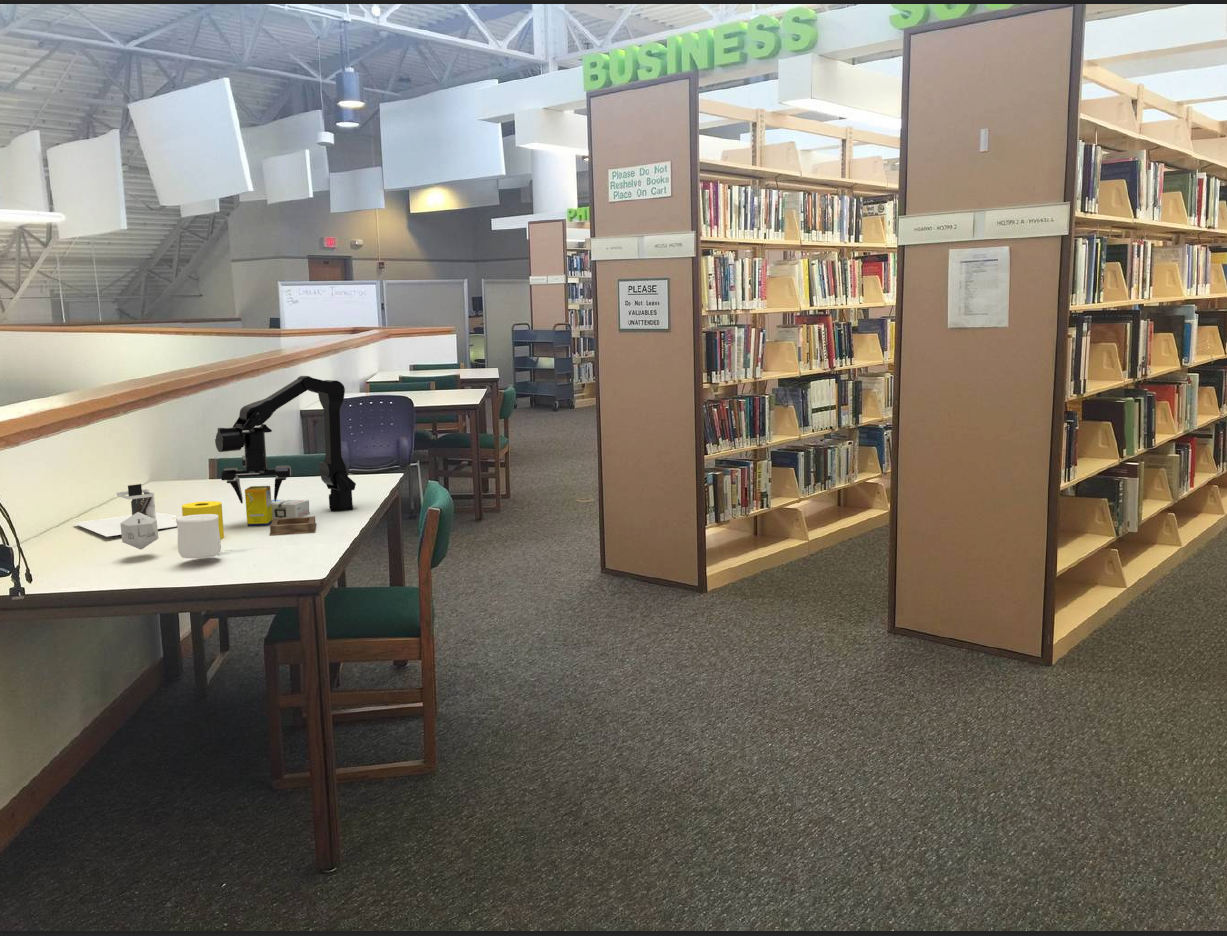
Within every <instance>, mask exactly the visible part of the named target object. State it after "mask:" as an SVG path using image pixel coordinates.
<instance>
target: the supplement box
mask: <svg viewBox="0 0 1227 936" xmlns="http://www.w3.org/2000/svg"><path fill="white" fill-rule="evenodd" d="M244 496H245V498H244V499H245V510H246V512H245V513H246V525H247V527H250V528H251V527H268V526H270V525H271V523H272V521H273V518H272V504H271V500H272V492H271V486H270V485H257V486H256V485H253V486H249V487H247V488H245V489H244Z"/></svg>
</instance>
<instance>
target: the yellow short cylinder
mask: <svg viewBox="0 0 1227 936" xmlns="http://www.w3.org/2000/svg"><path fill="white" fill-rule="evenodd" d="M181 513H182V516H189V515H199V514H216V515H218V516H219V517H218V526H219V534H220V540H221V539H224V538H225V531H224V518H223V505H222V502H221V501H217V500H215V501H213V500H210V501H208V500H205V501H195V502H194V501H193V502H189V503H188V502H187V503H185V504H182V505H181Z"/></svg>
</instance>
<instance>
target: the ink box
mask: <svg viewBox="0 0 1227 936" xmlns="http://www.w3.org/2000/svg"><path fill="white" fill-rule="evenodd" d="M271 504H272V518H273V519H279V518H295V517H306V516H308V515H310V514H311V513H310V501H309V499H277V500H276V502H275V501H274V499H271ZM307 514H308V515H307Z"/></svg>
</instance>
